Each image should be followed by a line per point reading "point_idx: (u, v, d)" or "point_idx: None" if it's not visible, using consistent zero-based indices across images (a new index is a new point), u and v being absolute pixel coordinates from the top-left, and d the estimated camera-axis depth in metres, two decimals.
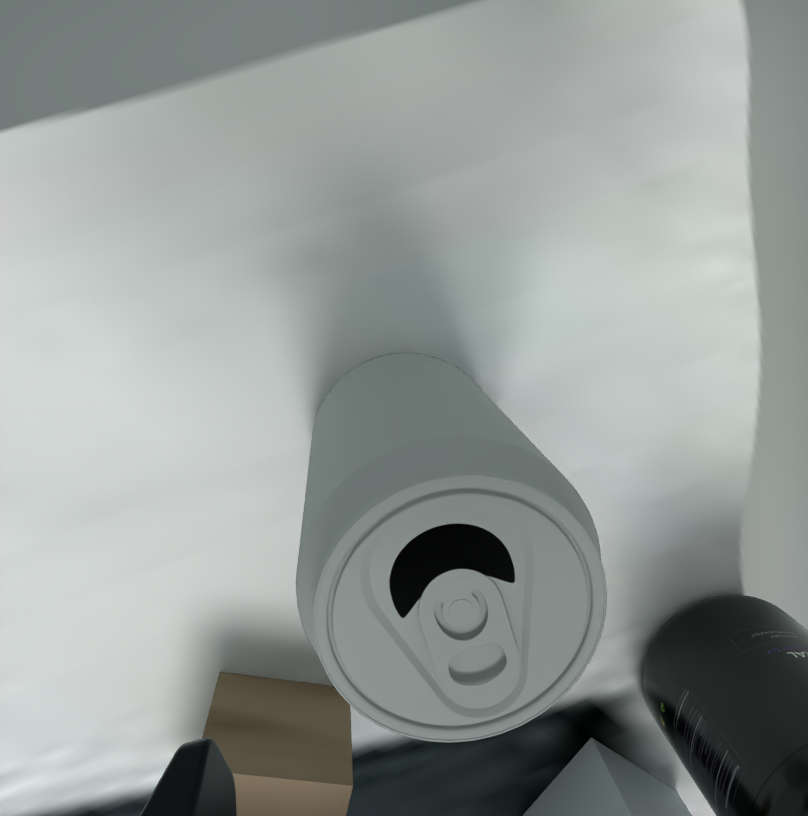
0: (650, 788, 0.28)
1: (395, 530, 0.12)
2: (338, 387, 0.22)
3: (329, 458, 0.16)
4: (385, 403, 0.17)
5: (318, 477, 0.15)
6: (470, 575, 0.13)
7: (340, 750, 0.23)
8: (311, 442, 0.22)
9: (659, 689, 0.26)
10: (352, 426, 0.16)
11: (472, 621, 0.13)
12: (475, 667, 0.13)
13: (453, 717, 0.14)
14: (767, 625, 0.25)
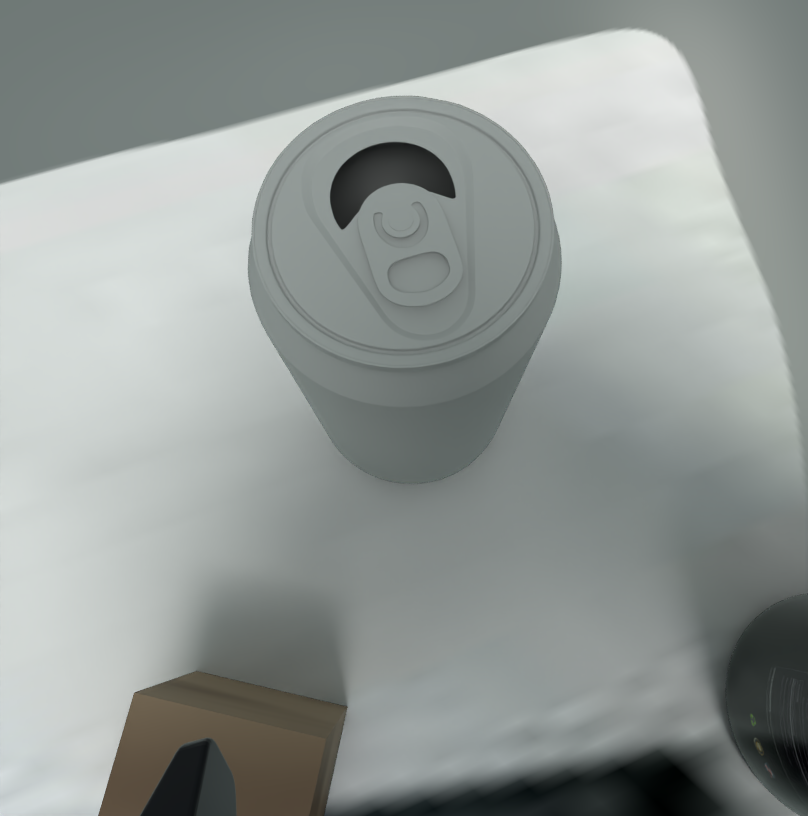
0: None
1: (337, 147, 0.13)
2: None
3: None
4: None
5: None
6: (409, 189, 0.13)
7: (319, 723, 0.18)
8: None
9: (744, 699, 0.20)
10: None
11: (413, 232, 0.13)
12: (418, 286, 0.12)
13: (395, 340, 0.12)
14: None
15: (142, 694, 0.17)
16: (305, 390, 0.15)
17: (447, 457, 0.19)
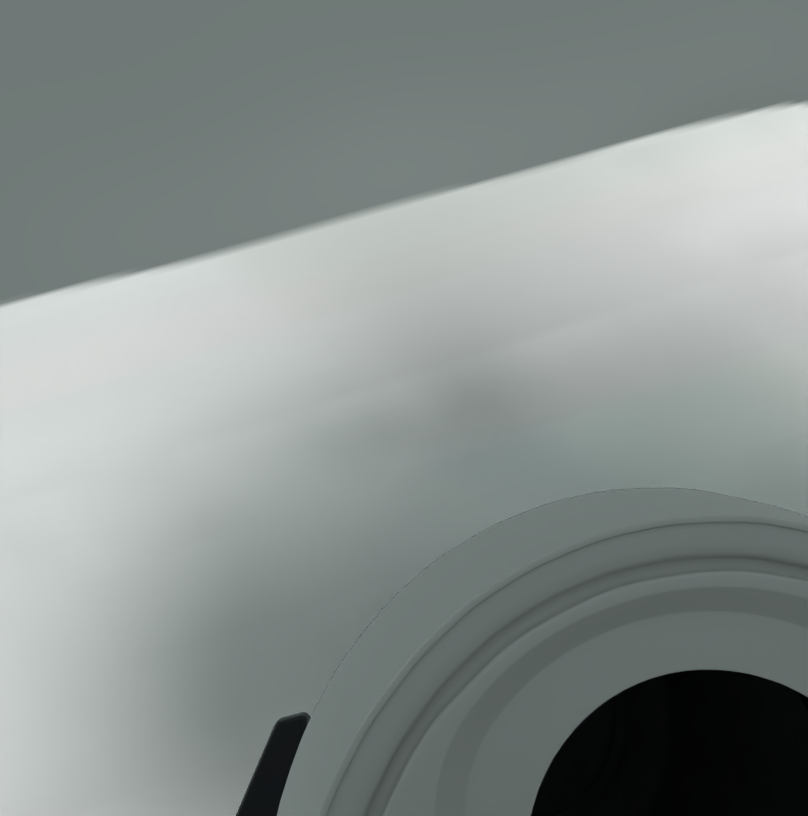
0: None
1: (536, 684, 0.04)
2: None
3: None
4: None
5: None
6: None
7: None
8: None
9: None
10: None
11: None
12: None
13: None
14: None
15: None
16: None
17: None
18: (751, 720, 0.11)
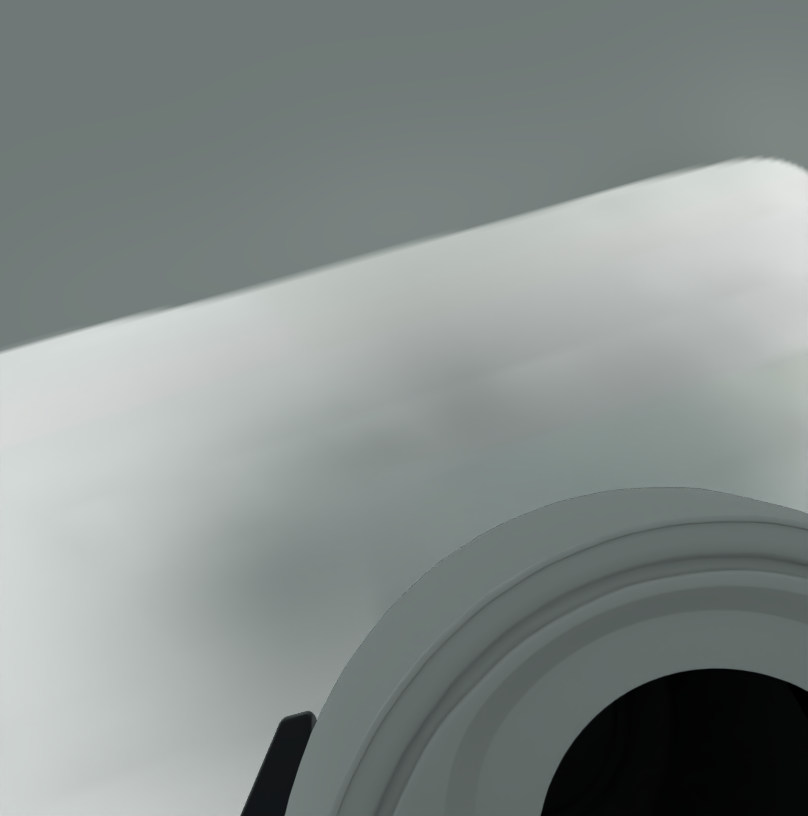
0: None
1: (545, 683, 0.04)
2: None
3: None
4: None
5: None
6: None
7: None
8: None
9: None
10: None
11: None
12: None
13: None
14: None
15: None
16: None
17: None
18: (754, 719, 0.11)
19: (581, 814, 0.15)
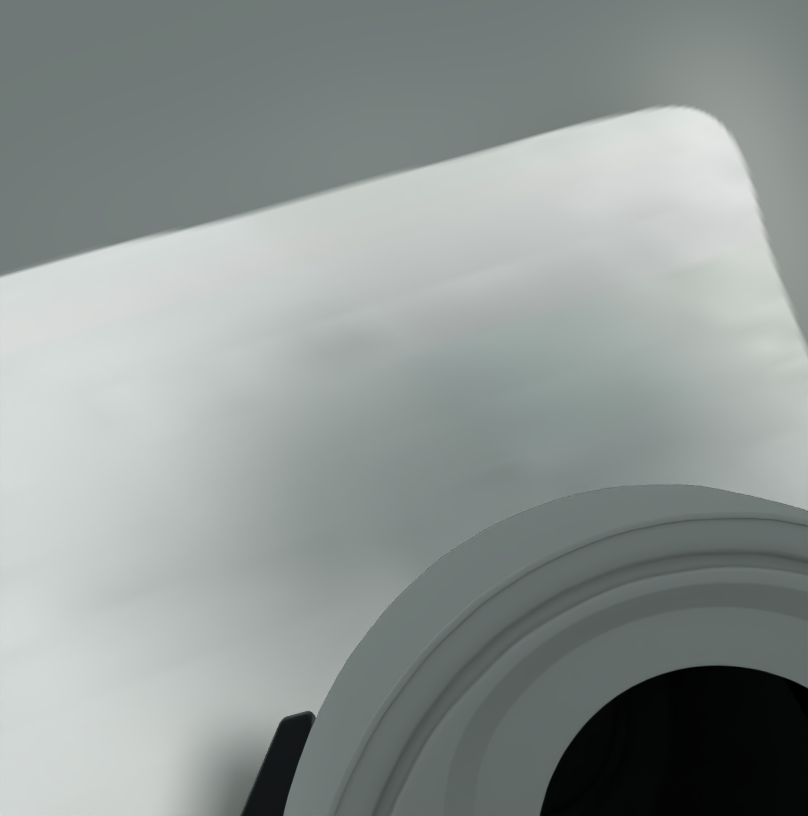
0: None
1: (546, 680, 0.04)
2: None
3: None
4: None
5: None
6: None
7: None
8: None
9: None
10: None
11: None
12: None
13: None
14: None
15: None
16: None
17: None
18: (754, 718, 0.11)
19: (581, 813, 0.14)
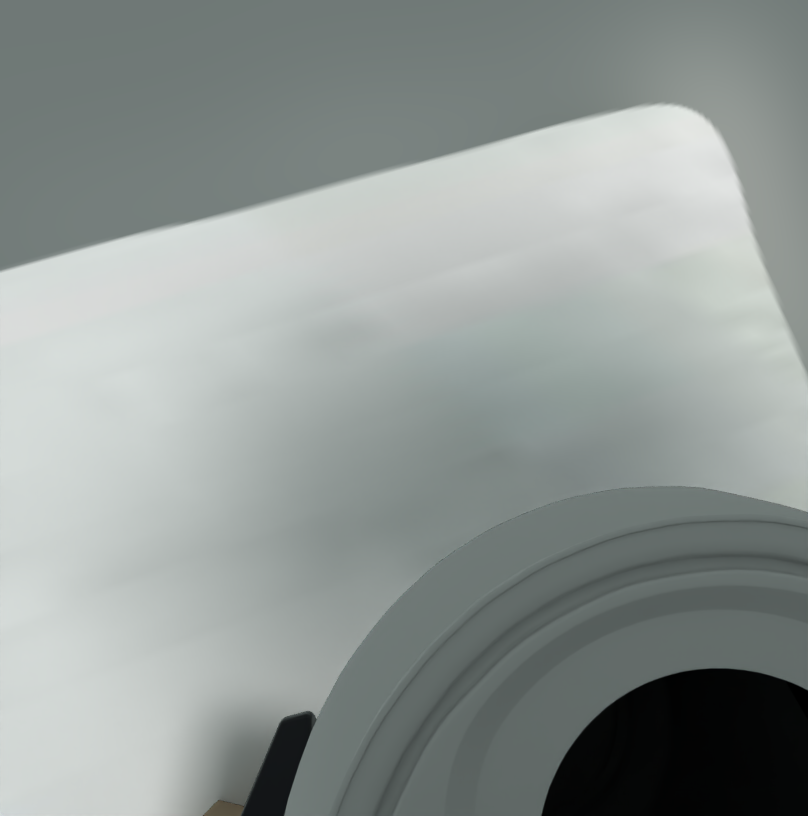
0: None
1: (546, 683, 0.04)
2: None
3: None
4: None
5: None
6: None
7: None
8: None
9: None
10: None
11: None
12: None
13: None
14: None
15: None
16: None
17: None
18: (754, 719, 0.11)
19: (582, 815, 0.14)
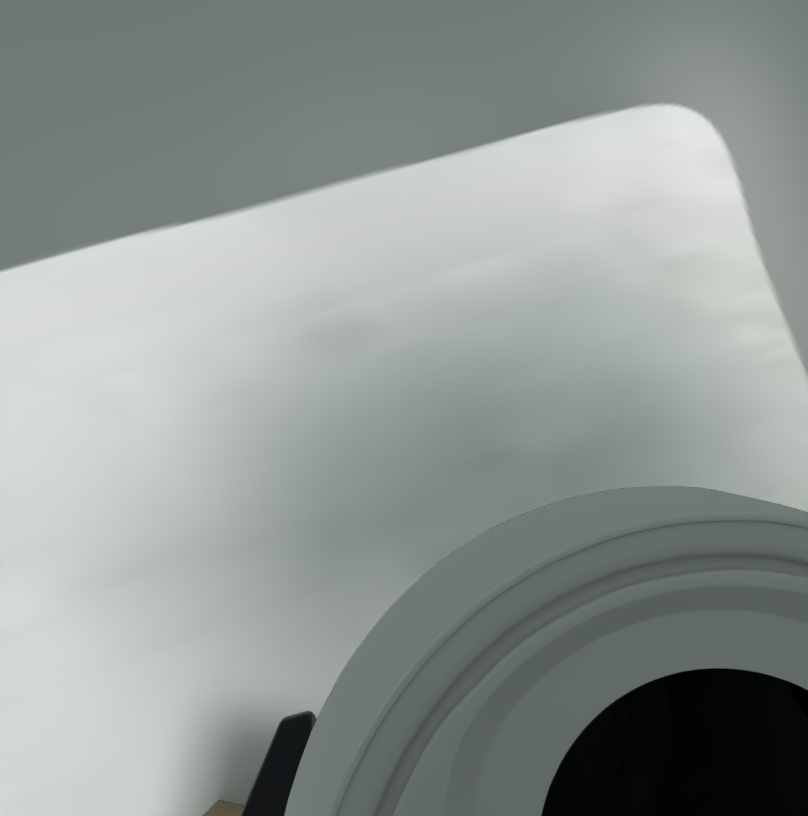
0: None
1: (546, 683, 0.04)
2: None
3: None
4: None
5: None
6: None
7: None
8: None
9: None
10: None
11: None
12: None
13: None
14: None
15: None
16: None
17: None
18: (754, 719, 0.11)
19: (581, 815, 0.14)
